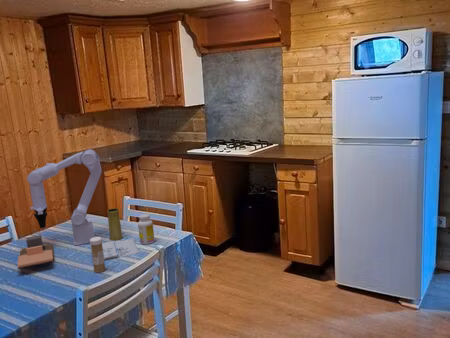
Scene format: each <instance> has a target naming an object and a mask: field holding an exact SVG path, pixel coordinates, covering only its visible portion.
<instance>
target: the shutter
mask: <svg viewBox="0 0 450 338" xmlns="http://www.w3.org/2000/svg"><path fill="white" fill-rule="evenodd" d="M26 248H27V247H26ZM26 250H27V255H22V256H19V255H18V257H17V266H16V267H17V268H18V269H20V268H19V267H24V266H29V265H34V264H39V263H44V262H48V261H53V255H52V250H47V251H43V248H42V245H41V246H36V247H30V248H27V249H26ZM53 262H54V261H53ZM48 263H49V262H48ZM44 264H45V263H44ZM39 265H40V264H39ZM34 266H35V265H34ZM29 267H30V266H29ZM24 268H25V267H24Z"/></svg>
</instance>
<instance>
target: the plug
mask: <svg viewBox="0 0 450 338" xmlns="http://www.w3.org/2000/svg"><path fill="white" fill-rule="evenodd" d="M42 236H43V235H42V234H39V235H33V236H29V237H26V245H27V246H26V248H30V247H36V246H41V245H42V248H43V244H44V243H43V237H42ZM43 250H44V249H43Z"/></svg>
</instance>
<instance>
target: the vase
mask: <svg viewBox="0 0 450 338" xmlns="http://www.w3.org/2000/svg"><path fill="white" fill-rule="evenodd" d="M106 211H107V220H108V221H107V223H108V229H109V230H108V231H109V240H110V241H114V242H117V241H121V239H123V238H124V237H123V232H122V225H121V219H120V211H119V208H116V207H115V208H109V209H107V210H106Z"/></svg>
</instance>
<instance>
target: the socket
mask: <svg viewBox="0 0 450 338" xmlns="http://www.w3.org/2000/svg"><path fill="white" fill-rule="evenodd" d="M26 249H27V247H24V248H21V249H20V250H19V255H18V256H22V255H27V250H26ZM43 249H44V250H43V251H47V250H52V255H53V261H48V262H44V263H39V264H34V265H29V266H24V267H19V268H18V269H24V268H28V267H33V266H38V265H42V264H49V263H52V262H55V250H54V244H53V243H51V244H50V243H43Z"/></svg>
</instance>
